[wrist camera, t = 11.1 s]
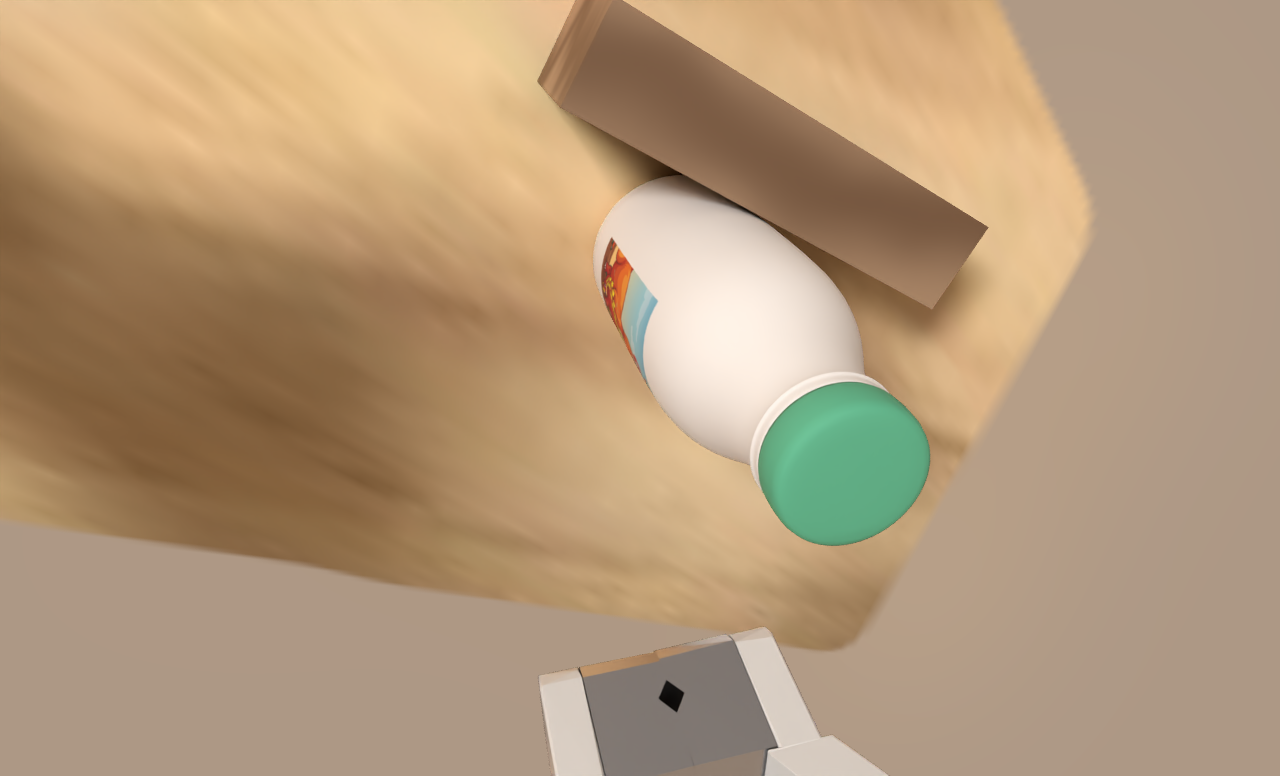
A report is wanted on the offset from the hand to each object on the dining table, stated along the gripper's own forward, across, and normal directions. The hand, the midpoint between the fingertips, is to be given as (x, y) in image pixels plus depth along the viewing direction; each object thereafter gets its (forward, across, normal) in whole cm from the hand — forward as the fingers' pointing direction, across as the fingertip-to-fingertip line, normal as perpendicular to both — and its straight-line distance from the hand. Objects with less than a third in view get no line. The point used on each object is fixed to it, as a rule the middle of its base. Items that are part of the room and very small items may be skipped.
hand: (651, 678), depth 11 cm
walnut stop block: (+29, -12, +3) cm, 31 cm away
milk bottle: (+29, -8, +8) cm, 31 cm away
